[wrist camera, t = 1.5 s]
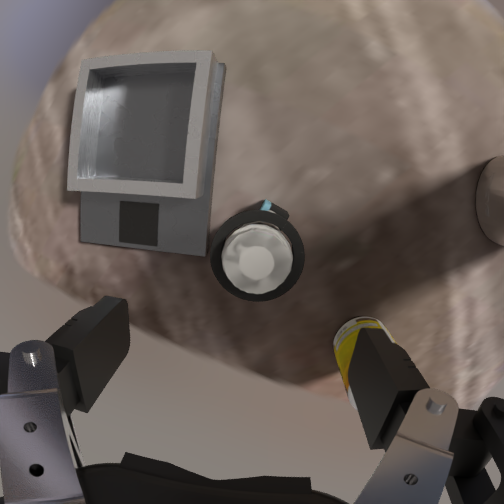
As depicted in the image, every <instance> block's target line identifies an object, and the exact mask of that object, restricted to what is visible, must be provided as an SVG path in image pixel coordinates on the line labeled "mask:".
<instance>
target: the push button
mask: <svg viewBox="0 0 504 504" xmlns="http://www.w3.org/2000/svg"><path fill="white" fill-rule="evenodd" d="M288 217H289V214H288V212H287V211H285V210H284V209H282V208H280V207H278V206H277V205H275V204H273V203H271V202H269V201H268V200H266V199H265V200H264V202H263V204H262V206H261V208H260V210H249V211H245V212H241V213H239V214H237V215H235V216H233V217H231V218H230V219H229V220H227V221H226V222H225V223H224V224H223V225H222V226H221V227H220V229H219V230H218V232H217V233H216V235H215V237H214V239H213V242H212V245H211V251H210V260H211V266H212V270H213V272H214V275H215V277H216V278H217V280H218V281H219V283H220V284H221V285H222V286H223V287H224V288H225V289H226V290H227V291H228V292H230V293H231V294H233V295H234V296H236V297H238V298H241V299H244V300H248V301H257V302H259V301H268V300H272V299H275V298H277V297H279V296H281V295H283V294H285V293H286V292H287V291H289V290H290V289H291V288H292V287H293V286H294V284H295V283H296V282H297V280H298V279H299V277H300V275H301V273H302V270H303V266H304V259H305V254H304V247H303V243H302V240H301V238H300V236H299V234H298V232H297V231H296V229H295V228H294V227H293V225H292V224H291V223H290V222H289V221H287V219H288ZM241 224H242V226H241V228H240V229H238V230H236V231H235V232H234V233H233V234H232V235H231V236H230V237H229V238H228V239H227V241H226V242H225V240H226V237H227V235H228V234H229V233H230V232H231V231H232V230H233V229H235V228H236V227H238V226H239V225H241ZM281 230H282V231H283V232H284V233H285V234H286V235H287V236H288V238H289V239H290V241H291V243H292V251H291V248H290V244H289V242H288V241H287V240H286V239H285V237H284V236H283V234H282V232H281ZM224 244H225V245H224Z"/></svg>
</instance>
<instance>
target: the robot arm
mask: <svg viewBox="0 0 504 504" xmlns="http://www.w3.org/2000/svg"><path fill="white" fill-rule="evenodd" d="M476 212H477V216H478V221H479V223H480V226H481V228H482V230H483V232H484V233H485V235H486V236H487V237H488V238H489V239H490V240H491V241H493V242H495V243H497V244H500V245H502V246H504V156H499V157H496V158H494V159H493V160H491V161H490V162H489V163H488V164H487V165H486V166H485V168H484V170H483V172H482V173H481V176H480V179H479V181H478V186H477V191H476ZM129 346H130V330H129V314H128V303H127V301H126V299H122V298H116V297H111V296H104V297H103V298H102V299H101V300H100V301H99V302H97V303H96V304H95V305H94V306H93V307H92V306H91V307H88V308H86V309H83V310H81V311H79V312H78V313H77V314H75V315H74V316H73V317H72V318H71V320H68V322H66V323H65V325H63V326H62V327H60V328H59V329H58V330H57V331H56V332H55V333H54V334H53V335H51V336H50V337H49V338H48V339H47V340H46V341H45V342H44V341H40V340H30V341H25V342H22V343H20V344H18V345H16V346H15V347H14V348H13V349H12V350H11V352H10V353H6V352H0V467H1V478H2V487H3V495H4V496H3V497H0V504H349V503H347V502H345V501H343V500H341V499H339V498H337V497H335V496H332V495H329V494H327V493H323V492H320V491H316V490H312V489H311V480H310V477H276V476H259V477H250V478H240V479H228V480H212V479H209V478H206V477H204V476H201V475H198V474H195V473H193V472H190V471H187V470H185V469H183V468H180V467H178V466H175V465H173V464H171V463H168V462H163V461H159V460H155V459H150V458H146V457H142V456H138V455H135V454H131V453H127V452H125V455H124V457H123V459H122V461H121V463H102V464H94V465H88V466H86V465H85V462H84V459H83V456H82V453H81V449H80V446H79V443H78V439H77V435H76V432H75V428H74V424H73V420H72V417H71V413H72V411H73V410H74V409H76V410H80V411H82V412H85V413H88V412H89V410H90V409H91V407H92V406H93V404H94V403H95V401H96V400H97V398H98V397H99V395H100V394H101V392H102V391H103V389H104V388H105V386H106V385H107V383H108V382H109V380H110V379H111V377H112V376H113V374H114V373H115V371H116V370H117V369H118V367H119V366H120V364H121V362H122V361H123V360H124V358H125V357H126V355H127V353H128V350H129ZM348 382H349V385H350V388H351V391H352V394H353V397H354V400H355V403H356V406H357V409H358V412H359V415H360V419H361V422H362V424H363V428H364V431H365V434H366V437H367V440H368V444H369V446H370V449H371V450H372V449H384V450H385V455H384V456H383V458H382V460H381V461H380V463H379V465H378V466H377V468H376V470H375V471H374V473H373V474H372V476H371V478H370V479H369V481H368V482H367V484H366V485H365V487H364V489H363V490H362V492H361V493H360V495H359V496H358V498H357V499H356V500H355V502H354V503H353V504H438V503H439V500H440V497H441V495H442V492H443V489H444V486H446V489H447V492H448V495H449V497H450V500H451V503H452V504H504V399H501V398H498V397H489V398H486V399H484V400H483V402H482V404H481V405H480V407H479V409H478V411H475V410H466V409H459V407H458V404H457V402H456V400H455V399H454V398H453V397H452V396H451V395H449V394H448V393H446V392H444V391H441V390H438V389H432V388H430V387H429V386H428V384H427V382H426V381H425V379H424V378H423V376H422V375H421V373H420V372H419V370H418V369H417V368H416V366H415V364H414V363H413V361H411V358H410V357H409V355H408V354H407V352H406V351H405V350H404V349H403V348H401V347H400V346H399V345H397V344H396V343H392V342H391V340H390V338H389V337H388V335H387V334H386V332H385V331H384V329H381V328H361V329H360V331H359V333H358V336H357V340H356V344H355V347H354V351H353V354H352V357H351V361H350V364H349V368H348ZM492 457H493V459H494V461H495V463H496V465H497V467H498V469H499V471H500V473H501V482H500V485H499V487H498V489H497V490H495V488H494V486H493V484H492V482H491V480H490V477H489V475H488V473H487V471H486V469H485V466H486V465H487V463H488V462H489V461H490V459H491V458H492Z"/></svg>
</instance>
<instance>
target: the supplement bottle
mask: <svg viewBox="0 0 504 504" xmlns="http://www.w3.org/2000/svg"><path fill="white" fill-rule="evenodd" d="M361 328H381V329H384V331H385V332H386V334H387V335H388V337H389V338H390V340H391V342H392V343H396V342H395V340H394V339H393V337H392V336H391V334H390V333H389V332H388V330H387V329H386V327H385V326H384V325H383V323H382V322H380V321H379V320H377V319H375V318H372V317H358V318H354V319H352V320H350V321H348V322H347V323H345V324H344V325H343V326H342V327H341V328H340V329H339V330H338V332H337V334H336V336H335V338H334V342H333V350H334V354H335V358H336V361H337V364H338V367H339V370H340V373H341V376H342V379H343V382H344V385H345V389H346V392H347V395H348V398H349V401H350V403H351V405H352V406H353V407H354V408H355V409H356V410H357V411H358V409H357V406H356V403H355V400H354V397H353V394H352V391H351V388H350V385H349V382H348V368H349V364H350V361H351V357H352V354H353V351H354V347H355V344H356V340H357V336H358V333H359V331H360V329H361ZM396 344H397V343H396Z"/></svg>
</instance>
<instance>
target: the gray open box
mask: <svg viewBox="0 0 504 504" xmlns="http://www.w3.org/2000/svg"><path fill="white" fill-rule="evenodd" d="M225 74H226V65H225V63H218V61H217V59H216V57H215V55H214V53H213V51H200V50H195V51H159V52H144V53H132V54H122V55H113V56H105V57H98V58H91V59H84V60H82V61H81V67H80V72H79V77H78V83H77V89H76V95H75V102H74V109H73V117H72V126H71V135H70V147H69V160H68V179H67V191H81V241H82V242H90V243H97V244H105V245H114V246H122V247H130V248H138V249H146V250H154V251H163V252H171V253H179V254H188V255H196V256H206V255H207V253H208V243H209V229H210V217H211V205H212V193H213V182H214V172H215V161H216V151H217V142H218V133H219V123H220V115H221V106H222V98H223V90H224V82H225Z"/></svg>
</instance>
